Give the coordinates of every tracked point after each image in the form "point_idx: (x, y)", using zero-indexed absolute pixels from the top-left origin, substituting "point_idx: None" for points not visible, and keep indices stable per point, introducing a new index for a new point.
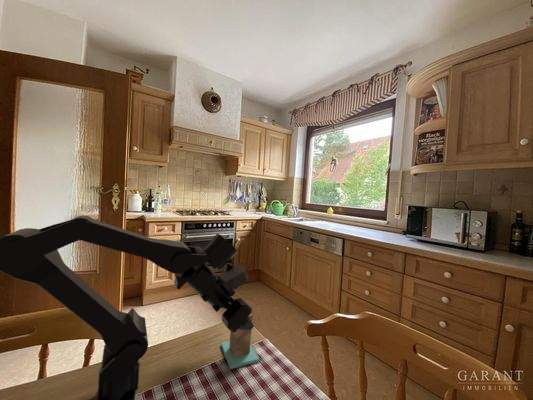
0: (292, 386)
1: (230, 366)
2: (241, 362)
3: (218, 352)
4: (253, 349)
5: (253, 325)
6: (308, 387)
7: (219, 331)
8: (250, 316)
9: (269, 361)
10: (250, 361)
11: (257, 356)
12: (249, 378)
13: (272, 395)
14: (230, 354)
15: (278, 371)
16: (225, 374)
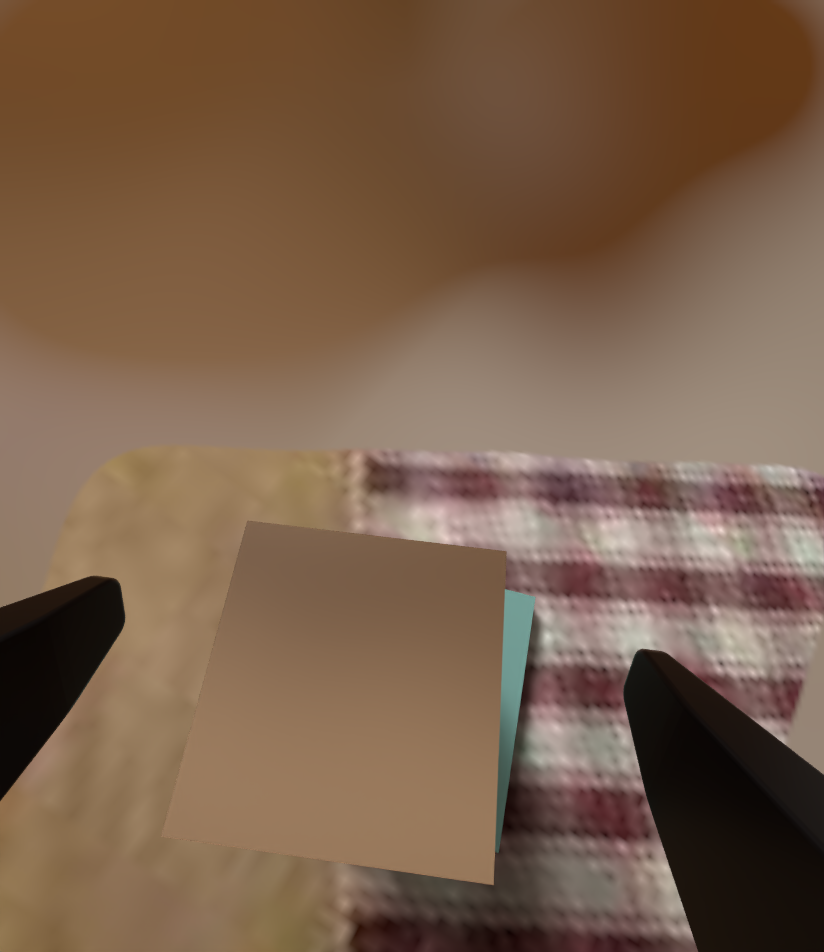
0: (774, 552)
1: (498, 849)
2: (507, 741)
3: None
4: None
5: (687, 669)
6: (806, 485)
7: None
8: (500, 591)
9: (550, 537)
10: (523, 667)
11: (510, 595)
12: (624, 750)
13: (799, 700)
14: None
15: (646, 545)
16: (514, 904)
